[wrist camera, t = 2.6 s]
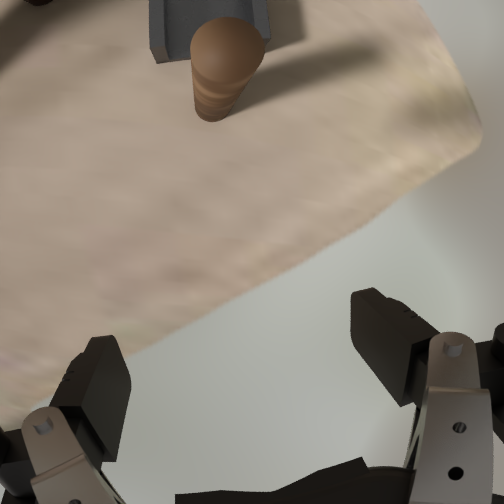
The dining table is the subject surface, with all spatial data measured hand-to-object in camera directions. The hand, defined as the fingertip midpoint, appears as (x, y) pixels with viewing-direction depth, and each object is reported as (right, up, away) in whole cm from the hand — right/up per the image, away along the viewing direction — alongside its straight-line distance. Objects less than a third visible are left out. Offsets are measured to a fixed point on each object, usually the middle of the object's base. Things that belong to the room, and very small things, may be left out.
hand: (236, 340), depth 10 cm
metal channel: (-5, +30, +20) cm, 36 cm away
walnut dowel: (-4, +19, +23) cm, 31 cm away
